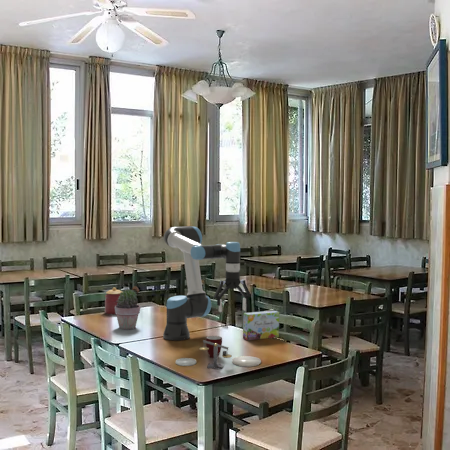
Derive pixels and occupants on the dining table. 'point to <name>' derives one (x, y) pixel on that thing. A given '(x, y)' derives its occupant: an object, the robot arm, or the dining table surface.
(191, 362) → the saucer left
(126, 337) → the dining table surface
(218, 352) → the mug
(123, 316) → the potted plant
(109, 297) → the canister
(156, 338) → the dining table surface
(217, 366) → the balance
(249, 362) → the dish right
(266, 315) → the snack box
